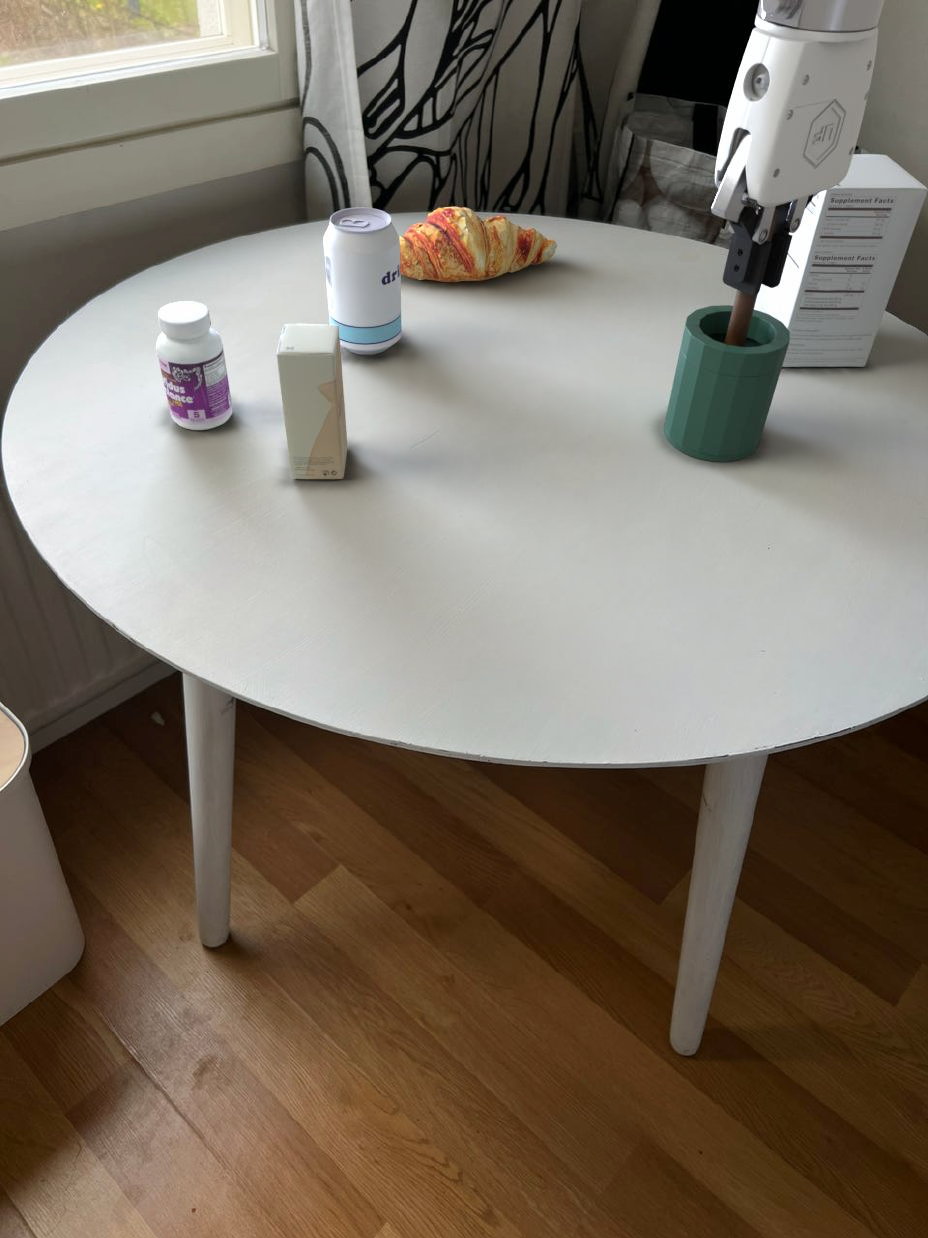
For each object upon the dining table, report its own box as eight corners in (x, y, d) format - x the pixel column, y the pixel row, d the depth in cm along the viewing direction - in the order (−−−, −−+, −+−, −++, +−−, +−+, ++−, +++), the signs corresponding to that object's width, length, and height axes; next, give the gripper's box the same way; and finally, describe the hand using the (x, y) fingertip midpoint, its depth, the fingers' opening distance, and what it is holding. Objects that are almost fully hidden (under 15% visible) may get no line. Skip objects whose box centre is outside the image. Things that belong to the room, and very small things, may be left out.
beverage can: (391, 364, 88) (388, 238, 79) (322, 355, 88) (311, 229, 80) (409, 330, 93) (407, 208, 84) (343, 322, 93) (335, 200, 85)
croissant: (543, 280, 110) (540, 207, 107) (572, 273, 100) (570, 193, 98) (367, 291, 105) (360, 216, 103) (381, 285, 96) (373, 201, 93)
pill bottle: (158, 423, 79) (133, 318, 72) (194, 394, 83) (173, 291, 76) (212, 438, 78) (192, 332, 71) (245, 407, 81) (229, 304, 75)
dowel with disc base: (734, 390, 80) (783, 199, 69) (750, 415, 77) (804, 220, 66) (689, 392, 79) (732, 200, 68) (704, 417, 76) (751, 221, 65)
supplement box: (867, 368, 90) (933, 189, 78) (775, 369, 89) (828, 188, 77) (832, 322, 96) (888, 151, 85) (746, 323, 96) (791, 150, 84)
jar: (739, 407, 84) (767, 303, 77) (772, 459, 78) (806, 351, 71) (652, 412, 83) (673, 306, 76) (679, 464, 77) (704, 355, 70)
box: (343, 481, 74) (334, 355, 66) (290, 480, 74) (274, 354, 66) (348, 444, 78) (339, 321, 70) (297, 443, 78) (283, 320, 70)
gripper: (790, 28, 52) (719, 331, 65) (943, 0, 59) (852, 277, 72) (692, 3, 57) (643, 292, 69) (845, -20, 64) (775, 245, 76)
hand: (750, 283), depth 71 cm, fingers closed on dowel with disc base
